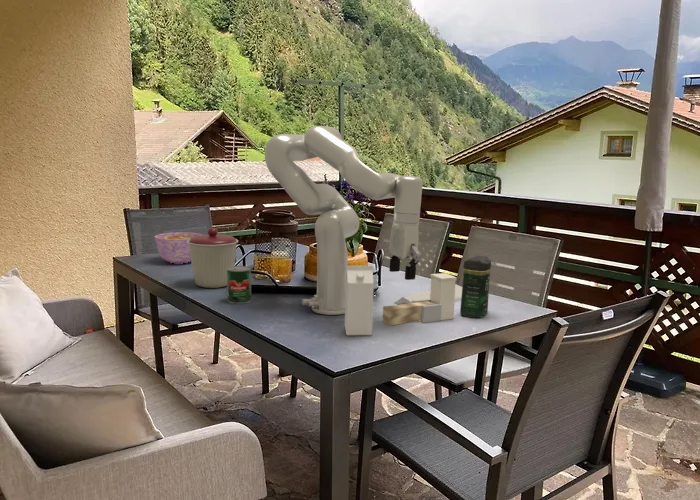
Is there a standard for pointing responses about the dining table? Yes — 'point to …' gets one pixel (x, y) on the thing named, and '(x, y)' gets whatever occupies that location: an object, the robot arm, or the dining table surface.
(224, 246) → the canister
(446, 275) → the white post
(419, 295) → the crown molding
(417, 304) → the birch rail
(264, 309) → the dining table surface
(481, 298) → the coffee jar
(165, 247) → the bowl of food
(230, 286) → the canned tomato
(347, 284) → the milk carton
